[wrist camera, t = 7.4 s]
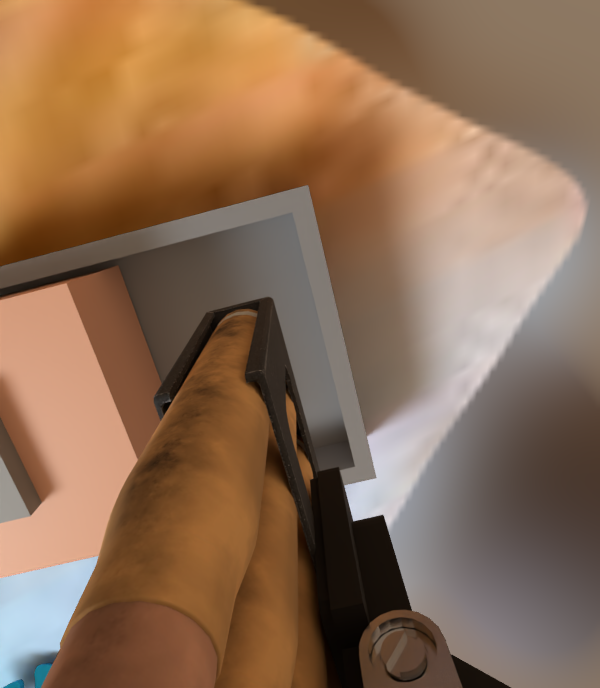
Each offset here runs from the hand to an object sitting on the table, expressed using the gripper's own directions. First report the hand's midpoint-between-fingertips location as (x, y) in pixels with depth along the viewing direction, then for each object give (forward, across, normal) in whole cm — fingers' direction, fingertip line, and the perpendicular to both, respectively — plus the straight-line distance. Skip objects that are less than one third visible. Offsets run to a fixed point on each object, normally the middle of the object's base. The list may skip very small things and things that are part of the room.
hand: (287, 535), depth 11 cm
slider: (+16, +12, 0) cm, 20 cm away
